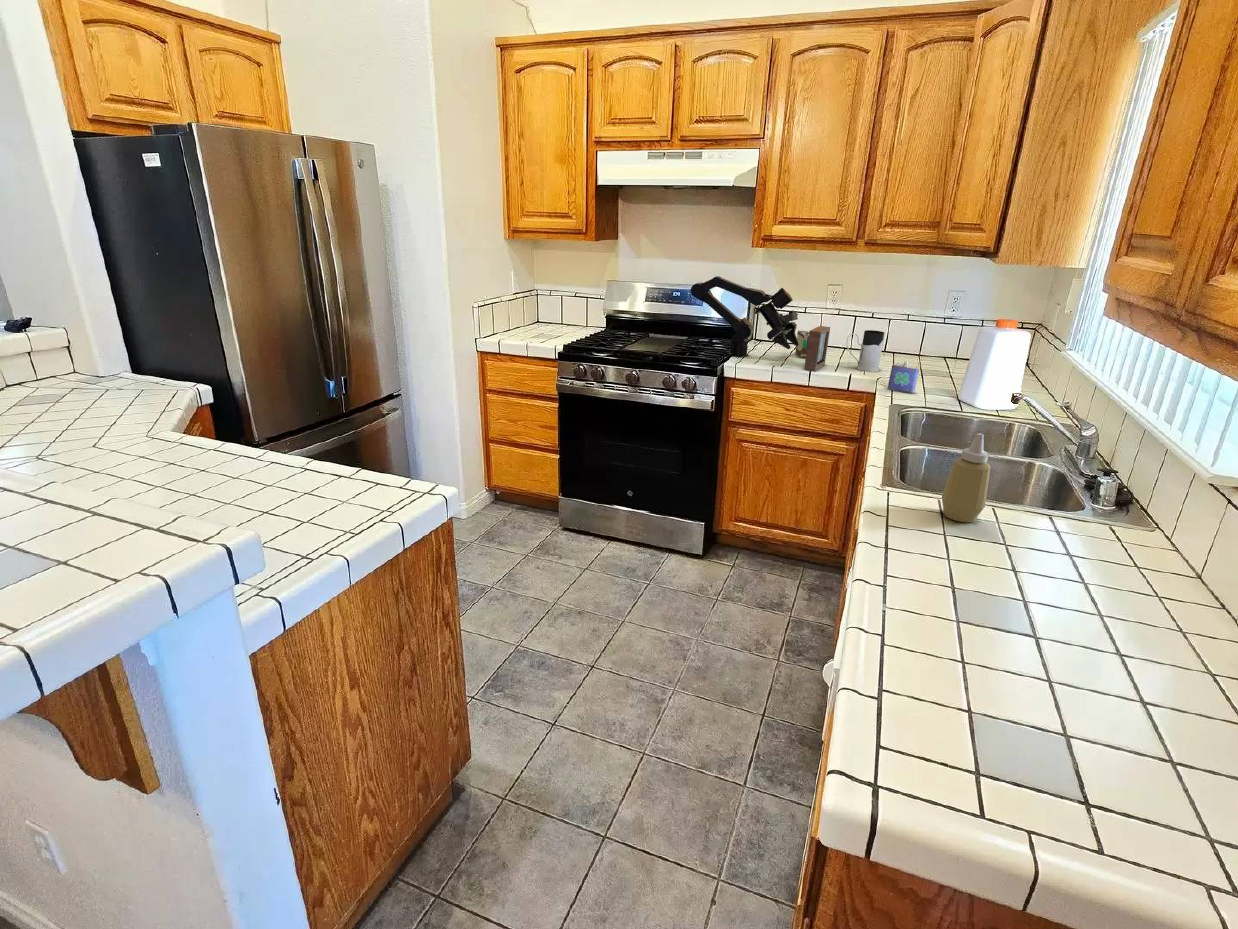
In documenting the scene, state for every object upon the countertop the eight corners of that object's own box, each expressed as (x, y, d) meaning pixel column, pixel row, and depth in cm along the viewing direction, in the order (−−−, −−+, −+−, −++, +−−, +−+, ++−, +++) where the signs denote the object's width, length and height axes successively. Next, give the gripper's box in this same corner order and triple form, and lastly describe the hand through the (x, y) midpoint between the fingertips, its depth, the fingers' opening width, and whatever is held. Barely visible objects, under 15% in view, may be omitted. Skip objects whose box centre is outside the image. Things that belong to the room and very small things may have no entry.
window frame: (815, 371, 254) (821, 331, 249) (803, 369, 256) (809, 330, 251) (824, 364, 267) (830, 327, 261) (814, 363, 269) (819, 325, 263)
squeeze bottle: (933, 517, 133) (953, 434, 126) (942, 505, 139) (962, 425, 132) (976, 529, 128) (999, 444, 122) (984, 516, 134) (1006, 434, 128)
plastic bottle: (991, 398, 226) (1012, 316, 216) (1022, 410, 212) (1046, 324, 202) (951, 398, 223) (971, 316, 213) (980, 411, 210) (1003, 323, 199)
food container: (815, 359, 276) (819, 335, 272) (801, 358, 276) (804, 335, 272) (808, 353, 287) (811, 330, 284) (794, 352, 287) (797, 330, 284)
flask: (915, 392, 229) (921, 362, 225) (912, 394, 227) (919, 363, 223) (888, 387, 234) (894, 358, 230) (886, 389, 232) (891, 359, 228)
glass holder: (880, 372, 257) (887, 334, 251) (843, 369, 260) (849, 331, 254) (877, 367, 265) (884, 330, 259) (841, 364, 268) (847, 328, 262)
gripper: (778, 305, 255) (801, 338, 253) (795, 301, 269) (817, 332, 267) (757, 323, 262) (779, 354, 260) (775, 318, 276) (796, 348, 274)
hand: (793, 347), depth 265 cm, fingers open, 9 cm apart
